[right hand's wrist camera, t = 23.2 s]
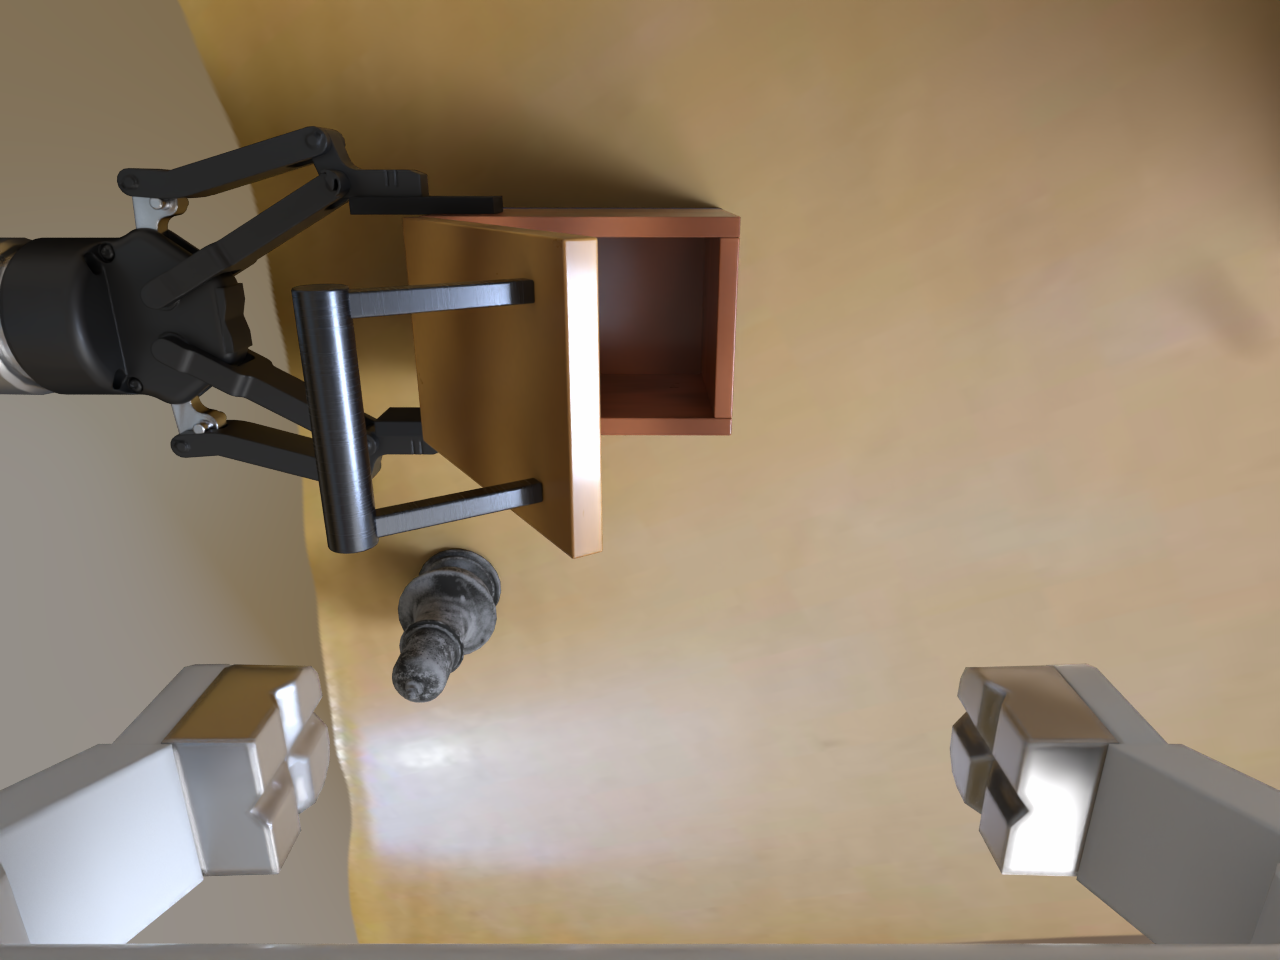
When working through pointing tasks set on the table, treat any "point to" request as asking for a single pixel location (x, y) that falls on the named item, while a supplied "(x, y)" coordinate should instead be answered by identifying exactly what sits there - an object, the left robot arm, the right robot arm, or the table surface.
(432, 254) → the lid
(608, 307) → the chest
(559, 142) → the table surface
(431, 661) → the grey chess piece
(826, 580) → the table surface
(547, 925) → the table surface
